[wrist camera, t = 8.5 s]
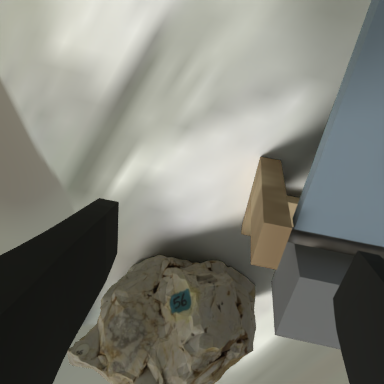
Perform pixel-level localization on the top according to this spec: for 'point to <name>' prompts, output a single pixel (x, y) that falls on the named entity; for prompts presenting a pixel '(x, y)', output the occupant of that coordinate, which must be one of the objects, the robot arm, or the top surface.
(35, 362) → the robot arm
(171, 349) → the rock
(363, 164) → the trapdoor
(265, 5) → the top surface
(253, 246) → the frame
